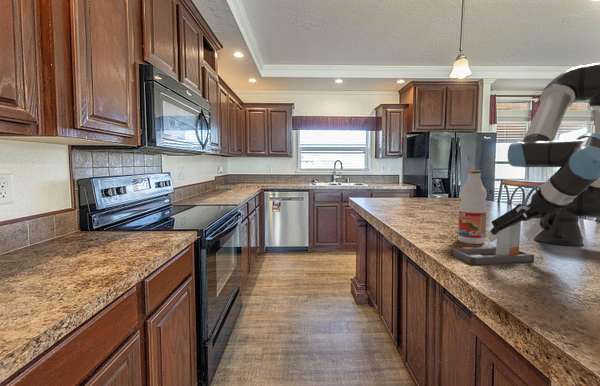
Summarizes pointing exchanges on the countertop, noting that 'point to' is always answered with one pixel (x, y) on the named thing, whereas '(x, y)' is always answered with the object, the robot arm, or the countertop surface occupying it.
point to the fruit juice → (472, 210)
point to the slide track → (475, 256)
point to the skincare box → (509, 240)
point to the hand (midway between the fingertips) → (508, 237)
